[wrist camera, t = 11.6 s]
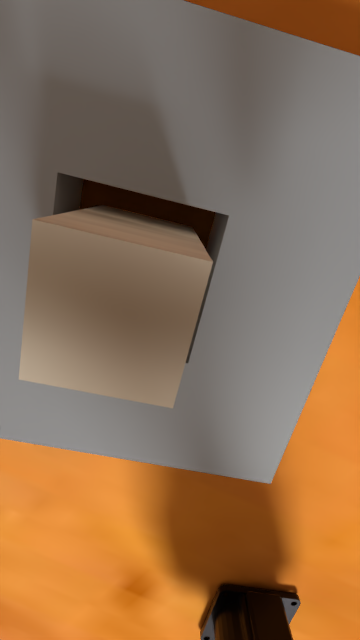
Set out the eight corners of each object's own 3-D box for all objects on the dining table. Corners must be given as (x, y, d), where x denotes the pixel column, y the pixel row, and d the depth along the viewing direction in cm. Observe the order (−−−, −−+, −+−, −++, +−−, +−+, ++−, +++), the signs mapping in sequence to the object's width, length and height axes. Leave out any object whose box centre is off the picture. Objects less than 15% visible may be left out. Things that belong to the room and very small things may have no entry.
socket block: (253, 432, 21) (270, 484, 18) (-48, 377, 19) (-101, 421, 16) (376, 108, 15) (442, 82, 12) (-44, -18, 13) (-127, -98, 10)
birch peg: (172, 309, 18) (172, 408, 10) (90, 291, 18) (18, 379, 10) (192, 226, 17) (213, 261, 8) (103, 204, 16) (32, 219, 8)
